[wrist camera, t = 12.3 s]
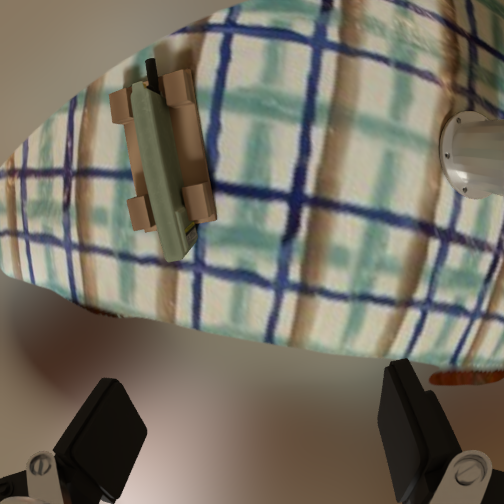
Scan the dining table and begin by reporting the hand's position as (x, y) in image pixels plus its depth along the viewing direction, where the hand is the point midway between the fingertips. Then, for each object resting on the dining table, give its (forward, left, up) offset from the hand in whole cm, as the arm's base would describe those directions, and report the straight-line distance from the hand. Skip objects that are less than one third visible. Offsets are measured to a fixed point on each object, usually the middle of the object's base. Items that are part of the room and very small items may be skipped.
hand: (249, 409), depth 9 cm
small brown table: (+12, -11, -30) cm, 34 cm away
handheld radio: (+11, -11, -30) cm, 33 cm away
